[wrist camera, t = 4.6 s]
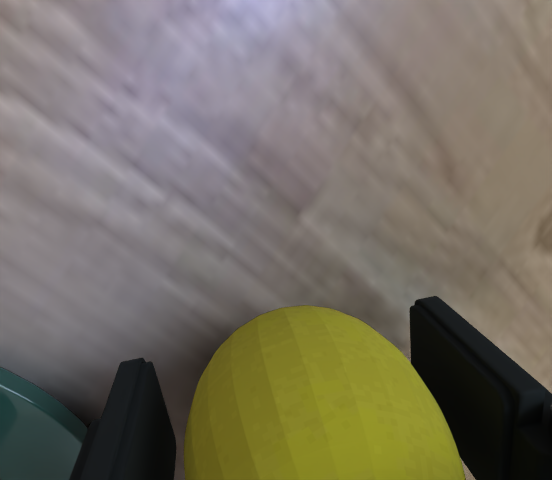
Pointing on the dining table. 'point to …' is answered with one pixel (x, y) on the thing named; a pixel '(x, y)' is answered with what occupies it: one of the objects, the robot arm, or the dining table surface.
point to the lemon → (315, 406)
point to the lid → (36, 432)
